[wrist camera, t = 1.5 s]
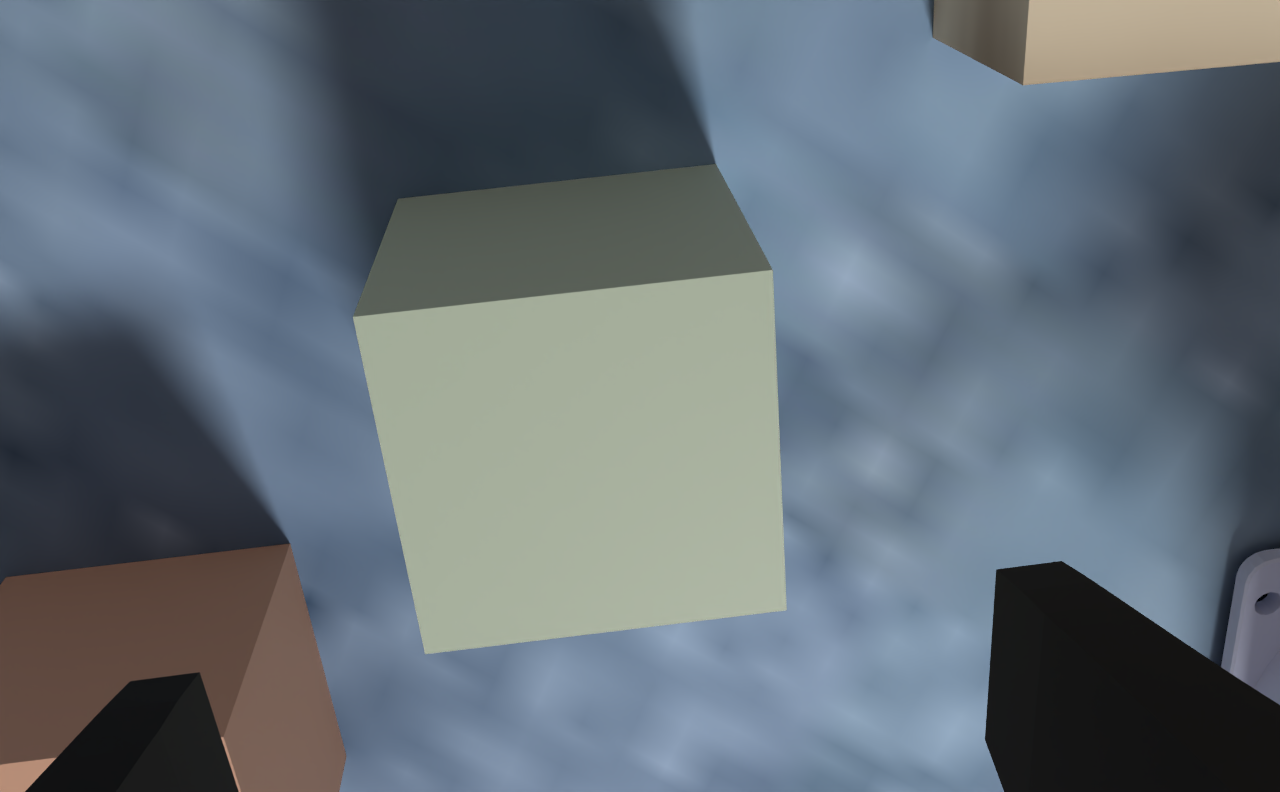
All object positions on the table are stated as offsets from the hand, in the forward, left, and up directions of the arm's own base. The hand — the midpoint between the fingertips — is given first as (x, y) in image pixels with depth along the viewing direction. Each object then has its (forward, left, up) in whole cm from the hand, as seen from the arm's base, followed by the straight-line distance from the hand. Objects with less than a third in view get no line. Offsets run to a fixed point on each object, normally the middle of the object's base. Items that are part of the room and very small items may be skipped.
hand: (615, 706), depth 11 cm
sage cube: (0, 0, -10) cm, 10 cm away
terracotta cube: (-6, +8, -10) cm, 14 cm away
